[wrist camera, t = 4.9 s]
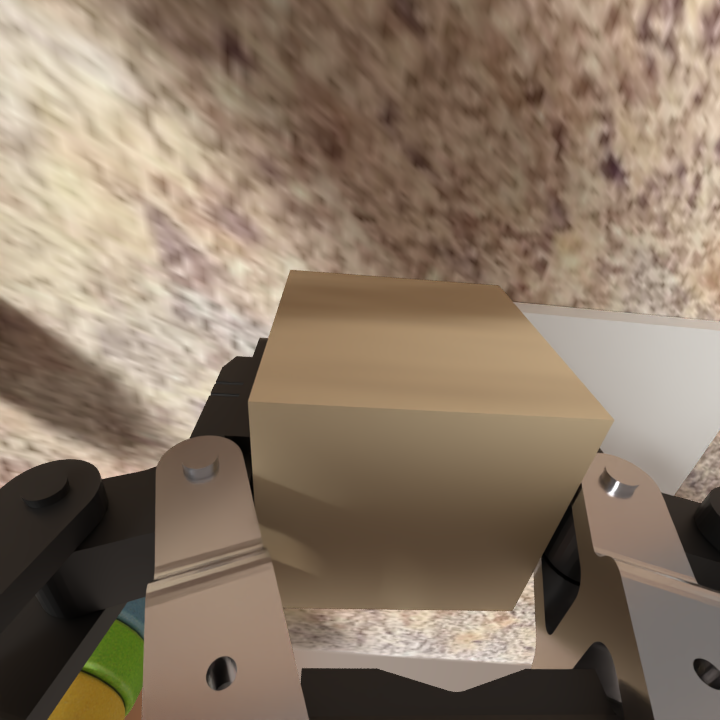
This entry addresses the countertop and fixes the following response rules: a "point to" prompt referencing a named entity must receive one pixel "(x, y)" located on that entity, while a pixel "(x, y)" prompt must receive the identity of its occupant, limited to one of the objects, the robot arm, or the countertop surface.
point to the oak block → (412, 444)
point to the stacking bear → (109, 672)
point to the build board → (643, 381)
